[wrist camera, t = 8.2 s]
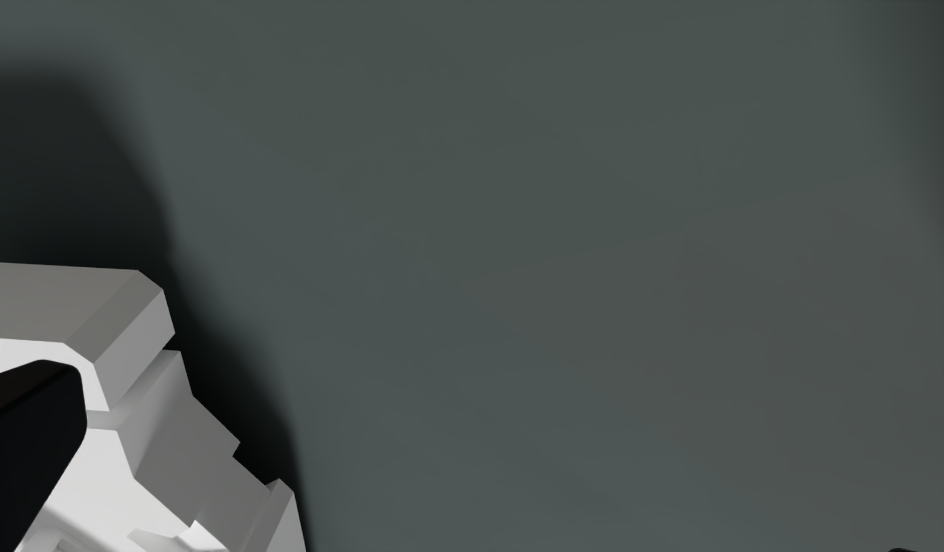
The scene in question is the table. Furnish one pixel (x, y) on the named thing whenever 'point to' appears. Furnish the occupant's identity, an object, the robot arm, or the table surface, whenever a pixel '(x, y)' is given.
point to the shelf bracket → (134, 425)
